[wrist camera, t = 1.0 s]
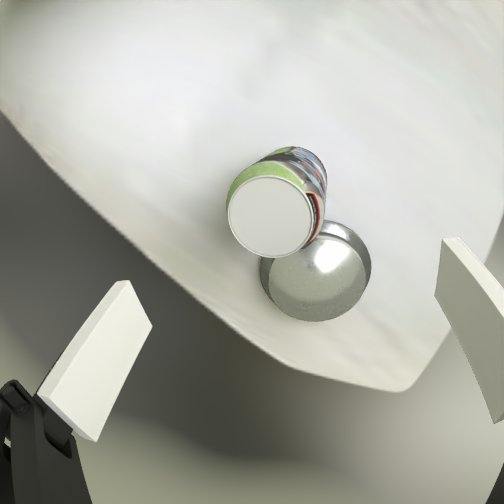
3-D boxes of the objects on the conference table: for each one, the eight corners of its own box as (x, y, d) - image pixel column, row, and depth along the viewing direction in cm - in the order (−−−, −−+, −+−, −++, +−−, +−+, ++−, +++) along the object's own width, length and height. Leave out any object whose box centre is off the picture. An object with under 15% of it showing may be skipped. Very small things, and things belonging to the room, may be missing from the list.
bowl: (250, 229, 30) (246, 240, 27) (368, 212, 27) (374, 222, 25) (271, 318, 35) (270, 332, 33) (369, 306, 33) (373, 320, 30)
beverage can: (317, 212, 28) (333, 284, 17) (242, 198, 28) (214, 263, 18) (331, 149, 25) (364, 187, 14) (251, 134, 25) (225, 160, 14)
